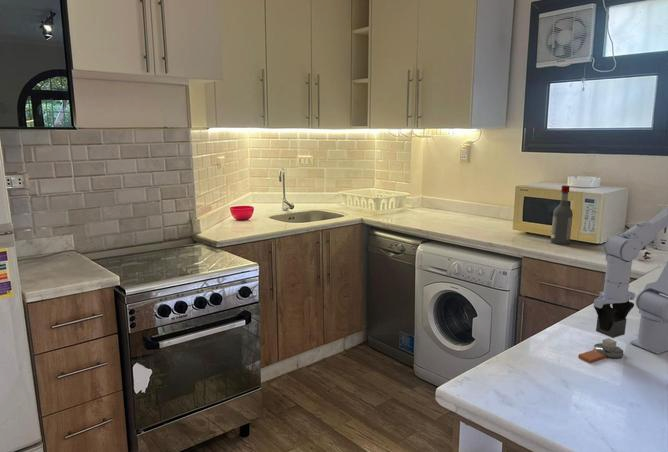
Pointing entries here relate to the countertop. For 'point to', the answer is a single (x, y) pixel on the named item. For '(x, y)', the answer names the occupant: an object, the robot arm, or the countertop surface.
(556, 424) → the countertop surface
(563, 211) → the liquor
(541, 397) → the countertop surface
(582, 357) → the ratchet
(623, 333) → the dark grey cube
